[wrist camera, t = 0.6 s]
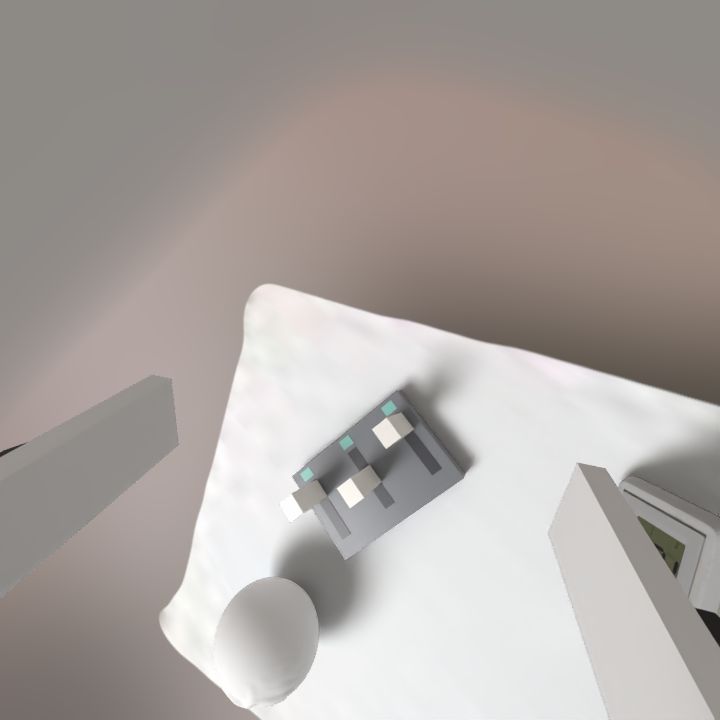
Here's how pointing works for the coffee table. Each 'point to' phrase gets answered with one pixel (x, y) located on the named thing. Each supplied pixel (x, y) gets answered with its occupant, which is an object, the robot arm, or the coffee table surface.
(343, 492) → the breaker
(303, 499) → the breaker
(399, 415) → the breaker
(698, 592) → the digital clock
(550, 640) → the coffee table surface
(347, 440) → the board
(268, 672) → the decorative ball
